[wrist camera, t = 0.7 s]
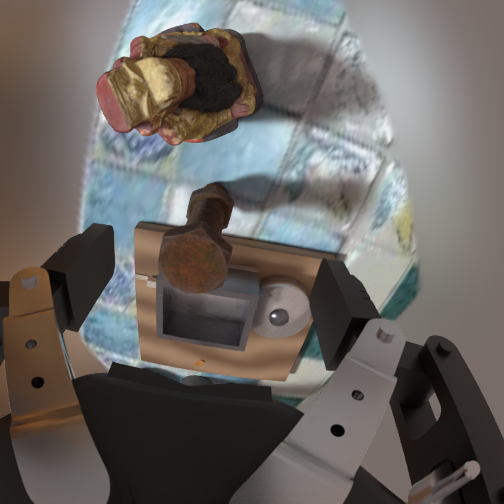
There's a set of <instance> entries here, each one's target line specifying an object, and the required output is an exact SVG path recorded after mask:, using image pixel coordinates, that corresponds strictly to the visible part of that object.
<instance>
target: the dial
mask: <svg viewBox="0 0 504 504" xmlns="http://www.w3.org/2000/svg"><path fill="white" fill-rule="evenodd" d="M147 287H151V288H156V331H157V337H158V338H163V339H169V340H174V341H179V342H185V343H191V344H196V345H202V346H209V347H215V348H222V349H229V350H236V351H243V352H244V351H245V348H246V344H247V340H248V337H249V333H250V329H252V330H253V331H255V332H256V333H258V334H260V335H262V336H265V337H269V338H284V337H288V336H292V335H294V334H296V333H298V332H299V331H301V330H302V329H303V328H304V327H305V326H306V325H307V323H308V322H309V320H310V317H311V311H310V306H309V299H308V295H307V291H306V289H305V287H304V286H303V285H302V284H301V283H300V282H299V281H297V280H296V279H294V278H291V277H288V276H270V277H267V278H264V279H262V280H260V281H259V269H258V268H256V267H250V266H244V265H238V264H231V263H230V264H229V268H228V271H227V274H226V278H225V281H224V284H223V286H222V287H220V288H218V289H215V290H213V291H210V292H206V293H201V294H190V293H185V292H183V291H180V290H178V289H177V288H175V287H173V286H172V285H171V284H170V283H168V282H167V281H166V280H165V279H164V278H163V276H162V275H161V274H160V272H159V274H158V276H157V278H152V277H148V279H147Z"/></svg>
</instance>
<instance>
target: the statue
mask: <svg viewBox="0 0 504 504" xmlns="http://www.w3.org/2000/svg"><path fill="white" fill-rule="evenodd" d="M130 53H131V54H130V57H121V58H119V59H118V60H116V62H115V63H114V65H113V69H112V70H110V71H108V72H105V73H104V74H103V75H102V76H101V77H100V78H99V80H98V82H97V85H96V92H97V97H98V101H99V105H100V107H101V109H102V111H103V114H104V116H105V117H106V119H107V121H108V123H109V124H110V125H111V127H112V128H113V129H114V131H116V132H120V133H128V132H130V131H132V130H133V129H134V128H135V129H136V130H137V131H138V132H139V133H140V134H141V135H143V136H150V135H153V134H155V133H156V132H158V134H159V135H160V136H161V137H162V138H163V139H164V140H165V141H166V142H167V143H169V144H170V145H172V146H174V145H179V144H181V143H182V142H183V141H186V142H191V143H200V142H206V141H210V140H213V139H215V138H218V137H221V136H223V135H225V134H227V133H230V132H232V131H234V130H235V129H237V127H238V119H240V118H243V117H246V116H249V115H252V114H254V113H256V112H257V111H258V110H259V109H260V108H261V106H262V103H263V92H262V89H261V86H260V83H259V81H258V78H257V75H256V73H255V70H254V68H253V66H252V63H251V61H250V58H249V56H248V53H247V50H246V46H245V41H244V39H243V37H242V36H241V35H240V34H239V33H238V32H236V31H234V30H231V29H226V30H221V29H218V28H214V29H210V30H207V31H204V29H203V28H202V27H201V26H200V25H199V24H198V23H189V24H185V25H180V26H176V27H173V28H170V29H167V30H165V31H163V32H161V33H159V34H158V35H156V36H154V37H152V38H150V39H149V38H147V37H145V36H140V37H137V38H135V39H133V40H132V42H131V44H130Z"/></svg>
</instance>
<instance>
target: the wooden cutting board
mask: <svg viewBox="0 0 504 504" xmlns="http://www.w3.org/2000/svg"><path fill="white" fill-rule="evenodd" d="M172 228H175V227H169V226H163V225H157V224H151V223H144V222H139V223H138V224H137V225H136V227H135V232H134V246H135V286H136V305H137V320H138V332H139V343H140V353H141V360H142V361H147V362H152V363H156V364H161V365H166V366H171V367H177V368H182V369H188V370H194V371H200V372H206V373H213V374H220V375H227V376H235V377H243V378H252V379H262V380H272V381H286V379H287V377H288V375H289V373H290V371H291V369H292V366H293V364H294V362H295V360H296V358H297V356H298V354H299V351H300V349H301V347H302V345H303V343H304V340H305V338H306V336H307V334H308V331H309V329H310V327H311V324H312V322H313V318H312V314H311V317H310V320H309V322H308V323H307V325H306V326H305V327H304V328H303V329H302V330H301V331H299V332H298V333H296V334H294V335H292V336H288V337H284V338H269V337H265V336H262V335H260V334H258V333H256V332H255V331H253V330H252V329H250V333H249V337H248V340H247V344H246V348H245V351H244V352H243V351H236V350H229V349H222V348H215V347H209V346H202V345H196V344H191V343H185V342H179V341H174V340H169V339H163V338H158V337H157V331H156V288H151V287H147V279H148V277H152V278H157V276H158V274H159V271H158V258H159V251H160V246H161V242H162V237H163V235H164V233H165V232H166V230H168V229H172ZM221 237H222V238H223V239H225V240H226V241H227V242H228V243H229V244H230V245H231V246H232V247H233V249H232V256H231V260H230V263H231V264H238V265H244V266H250V267H256V268H258V269H259V281H260V280H262V279H264V278H267V277H270V276H288V277H291V278H294V279H296V280H297V281H299V282H300V283H301V284H302V285H303V286H304V287H305V289H306V291H307V295H308V299H309V301H310V294H311V290H312V288H313V285H314V282H315V278H316V275H317V272H318V269H319V266H320V263H321V261H322V260H323V259H324V258H326V259H333V260H336V259H335V256H334V255H333V254H328V253H322V252H316V251H311V250H305V249H299V248H294V247H288V246H282V245H276V244H271V243H265V242H259V241H253V240H247V239H241V238H235V237H230V236H224V235H221Z"/></svg>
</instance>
